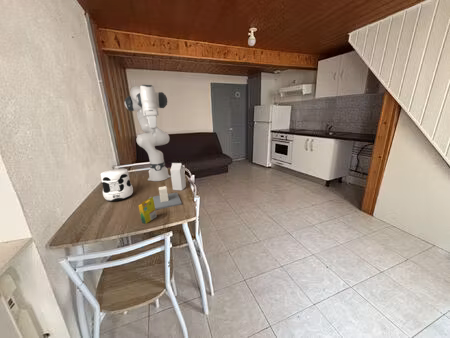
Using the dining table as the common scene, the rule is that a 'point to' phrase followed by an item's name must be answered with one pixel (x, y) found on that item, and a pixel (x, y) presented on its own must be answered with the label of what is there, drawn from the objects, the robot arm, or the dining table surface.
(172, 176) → the milk carton
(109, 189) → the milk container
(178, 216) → the dining table surface
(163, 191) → the cream block
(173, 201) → the mat
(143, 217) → the crayon box
